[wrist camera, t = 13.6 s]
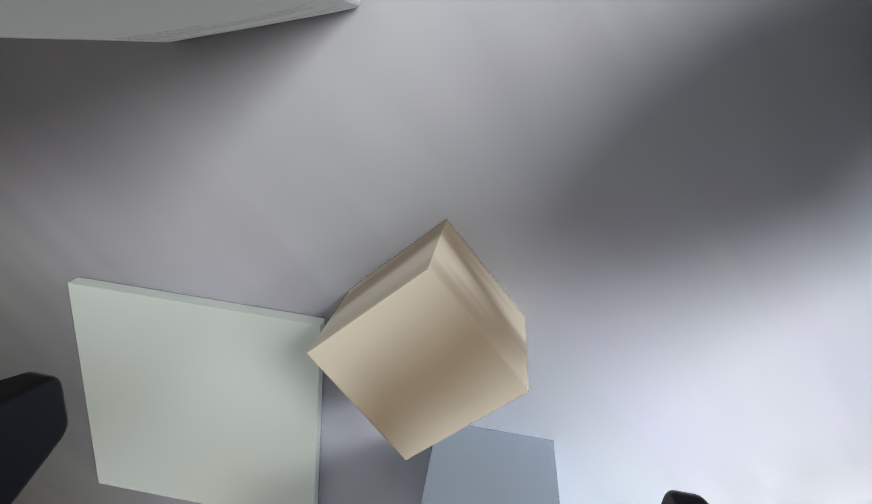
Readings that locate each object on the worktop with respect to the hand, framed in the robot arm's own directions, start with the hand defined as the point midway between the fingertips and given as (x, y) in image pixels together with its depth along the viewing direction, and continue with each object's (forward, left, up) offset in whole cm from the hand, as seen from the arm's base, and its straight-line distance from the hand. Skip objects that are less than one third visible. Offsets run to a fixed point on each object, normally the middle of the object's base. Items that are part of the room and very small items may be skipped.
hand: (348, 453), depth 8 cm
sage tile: (+10, +11, -13) cm, 20 cm away
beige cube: (0, +4, -13) cm, 14 cm away
